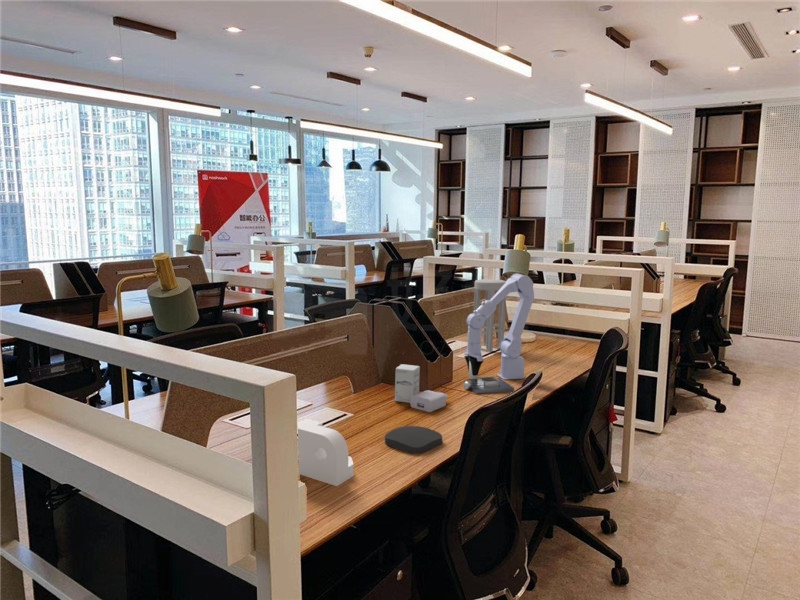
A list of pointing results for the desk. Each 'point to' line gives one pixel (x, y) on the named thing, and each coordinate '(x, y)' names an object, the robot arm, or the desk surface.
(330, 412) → the desk surface
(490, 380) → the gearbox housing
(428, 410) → the charger
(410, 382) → the supplement box
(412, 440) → the media streaming box
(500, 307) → the stool
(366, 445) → the desk surface
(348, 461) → the tape dispenser
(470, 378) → the spout can
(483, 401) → the desk surface
